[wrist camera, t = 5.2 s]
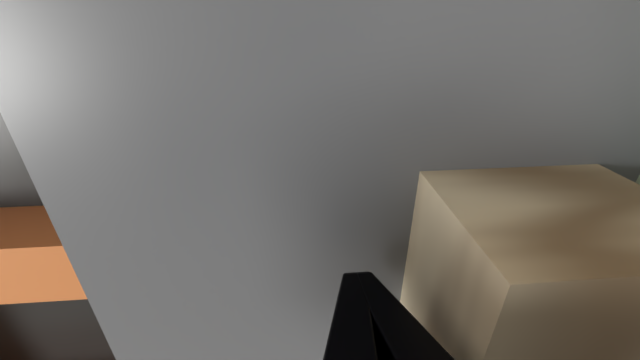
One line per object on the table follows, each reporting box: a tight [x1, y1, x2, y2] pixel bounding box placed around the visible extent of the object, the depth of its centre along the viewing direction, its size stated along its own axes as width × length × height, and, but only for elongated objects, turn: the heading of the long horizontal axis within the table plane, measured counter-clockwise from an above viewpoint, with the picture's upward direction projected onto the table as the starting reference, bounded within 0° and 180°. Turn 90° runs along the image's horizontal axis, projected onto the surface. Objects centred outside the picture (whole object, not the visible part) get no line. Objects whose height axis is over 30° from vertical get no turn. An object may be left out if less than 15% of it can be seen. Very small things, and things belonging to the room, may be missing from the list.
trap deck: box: [0, 0, 640, 360], centre depth 9 cm, size 28×16×6 cm, turn 90°
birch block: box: [400, 164, 640, 360], centre depth 8 cm, size 5×5×4 cm
